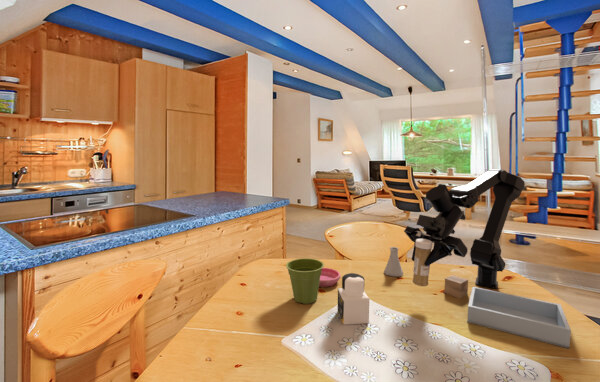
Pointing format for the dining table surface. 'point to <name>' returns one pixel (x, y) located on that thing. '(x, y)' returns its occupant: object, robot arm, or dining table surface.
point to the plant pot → (305, 278)
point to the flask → (393, 264)
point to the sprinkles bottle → (421, 262)
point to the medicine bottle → (353, 300)
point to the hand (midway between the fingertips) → (418, 262)
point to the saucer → (328, 277)
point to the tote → (519, 316)
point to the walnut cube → (456, 286)
